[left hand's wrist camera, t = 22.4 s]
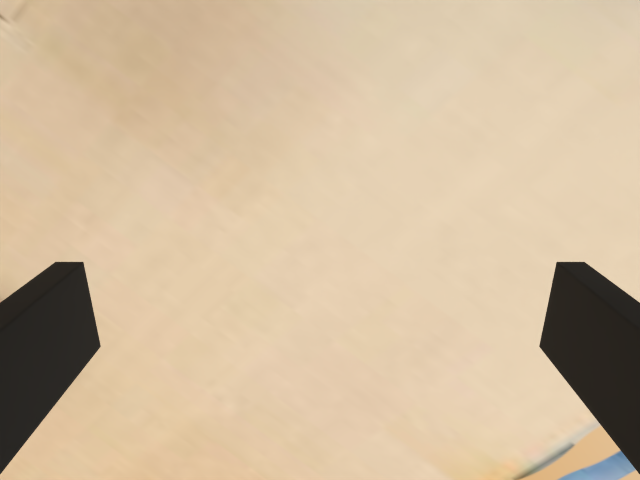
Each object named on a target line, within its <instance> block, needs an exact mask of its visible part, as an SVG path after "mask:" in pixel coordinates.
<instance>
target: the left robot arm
mask: <svg viewBox="0 0 640 480" xmlns="http://www.w3.org/2000/svg"><path fill="white" fill-rule="evenodd" d="M100 347H101V346H100V341H99V336H98V332H97V327H96V322H95V317H94V312H93V307H92V302H91V297H90V293H89V288H88V283H87V278H86V273H85V268H84V263H83V262H55V263H54V264H52V265H51V266H50V267H48V268H47V269H46V270H44V271H43V272H41V273H40V274H39V275H37V276H36V277H35V278H33V279H32V280H31V281H29V282H28V283H27V284H25V285H24V286H22V287H21V288H20V289H18V290H17V291H16V292H14V293H13V294H12V295H10V296H9V297H8V298H6V299H5V300H3V301H2V302H1V303H0V474H1V473H2V471H3V470H4V469H5V468H6V466H7V465H8V464H9V462H10V461H11V460H12V459H13V457H14V456H15V455H16V454H17V452H18V451H19V450H20V448H21V447H22V446H23V445H24V443H25V442H26V441H27V440H28V438H29V437H30V436H31V434H32V433H33V432H34V431H35V429H36V428H37V427H38V426H39V424H40V423H41V422H42V420H43V419H44V418H45V417H46V415H47V414H48V413H49V412H50V410H51V409H52V408H53V406H54V405H55V404H56V403H57V401H58V400H59V399H60V398H61V396H62V395H63V394H64V392H65V391H66V390H67V389H68V387H69V386H70V385H71V384H72V382H73V381H74V380H75V378H76V377H77V376H78V375H79V373H80V372H81V371H82V370H83V368H84V367H85V366H86V364H87V363H88V362H89V361H90V359H91V358H92V357H93V356H94V354H95V353H96V352H97V350H98V349H99V348H100ZM539 347H540V348H541V349H542V350H543V352H544V353H545V354H546V356H547V357H548V358H549V359H550V361H551V362H552V363H553V364H554V366H555V367H556V368H557V370H558V371H559V372H560V373H561V375H562V376H563V377H564V378H565V380H566V381H567V382H568V384H569V385H570V386H571V387H572V389H573V390H574V391H575V392H576V394H577V395H578V396H579V398H580V399H581V400H582V401H583V403H584V404H585V405H586V406H587V408H588V409H589V410H590V412H591V413H592V414H593V415H594V417H595V418H596V419H597V420H598V422H599V423H600V424H601V426H602V427H603V428H604V429H605V431H606V432H607V433H608V434H609V436H610V437H611V438H612V440H613V441H614V442H615V443H616V445H617V446H618V447H619V448H620V450H621V451H622V452H623V454H624V455H625V456H626V457H627V459H628V460H629V461H630V462H631V464H632V465H633V466H634V468H635V469H636V470H637V471H638V473H639V474H640V303H639V302H638V301H637V300H635V299H634V298H632V297H631V296H630V295H628V294H627V293H626V292H624V291H623V290H622V289H620V288H619V287H618V286H616V285H615V284H613V283H612V282H611V281H609V280H608V279H607V278H605V277H604V276H603V275H601V274H600V273H599V272H597V271H596V270H594V269H593V268H592V267H590V266H589V265H588V264H586V263H585V262H557V263H556V268H555V273H554V278H553V283H552V288H551V293H550V297H549V302H548V307H547V312H546V317H545V322H544V327H543V332H542V336H541V341H540V346H539Z"/></svg>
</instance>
